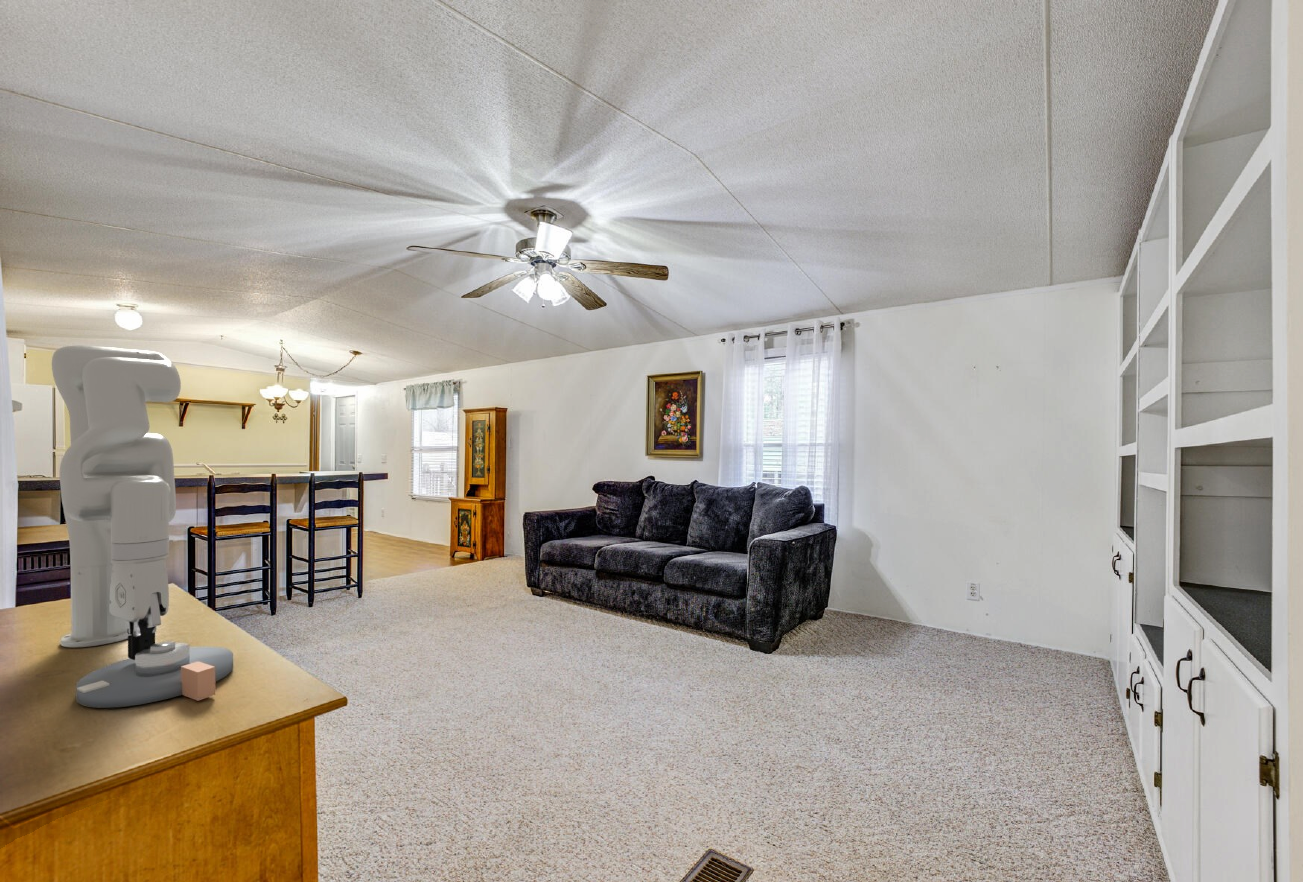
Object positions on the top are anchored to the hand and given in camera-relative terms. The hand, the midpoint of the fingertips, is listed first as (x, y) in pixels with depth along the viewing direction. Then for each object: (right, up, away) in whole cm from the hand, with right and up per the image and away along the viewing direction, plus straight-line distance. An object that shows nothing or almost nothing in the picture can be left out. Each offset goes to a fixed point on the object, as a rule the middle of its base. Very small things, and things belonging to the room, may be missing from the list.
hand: (141, 656), depth 101 cm
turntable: (+8, -3, -4) cm, 9 cm away
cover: (+6, -1, -3) cm, 7 cm away
